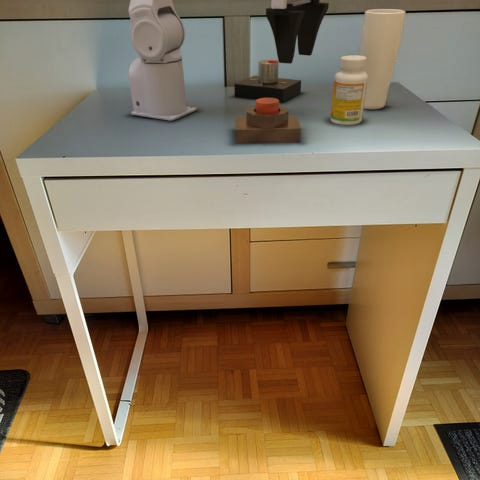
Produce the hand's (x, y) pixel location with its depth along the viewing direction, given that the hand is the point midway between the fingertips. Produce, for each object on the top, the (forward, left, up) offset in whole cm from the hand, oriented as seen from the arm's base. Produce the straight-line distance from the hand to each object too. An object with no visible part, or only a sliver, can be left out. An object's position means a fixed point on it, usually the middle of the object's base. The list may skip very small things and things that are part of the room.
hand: (295, 58), depth 74 cm
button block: (0, -10, -10) cm, 14 cm away
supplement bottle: (+9, +4, -10) cm, 13 cm away
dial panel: (-12, +14, -10) cm, 21 cm away
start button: (0, -10, -6) cm, 12 cm away
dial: (-12, +14, -7) cm, 20 cm away
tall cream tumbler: (+10, +15, -10) cm, 20 cm away
